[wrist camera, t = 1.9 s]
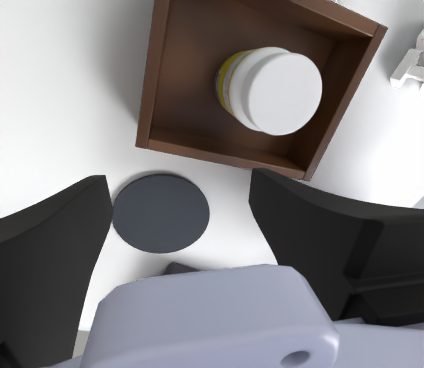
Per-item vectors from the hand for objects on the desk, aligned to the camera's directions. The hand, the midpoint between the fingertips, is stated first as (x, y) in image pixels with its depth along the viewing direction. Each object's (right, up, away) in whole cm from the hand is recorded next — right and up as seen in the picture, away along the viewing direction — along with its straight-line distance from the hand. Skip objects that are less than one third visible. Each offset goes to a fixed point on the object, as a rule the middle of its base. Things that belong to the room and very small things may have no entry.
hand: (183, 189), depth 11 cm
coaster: (-4, -3, +13) cm, 14 cm away
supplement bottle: (+4, +9, +8) cm, 12 cm away
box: (+4, +9, +8) cm, 12 cm away
